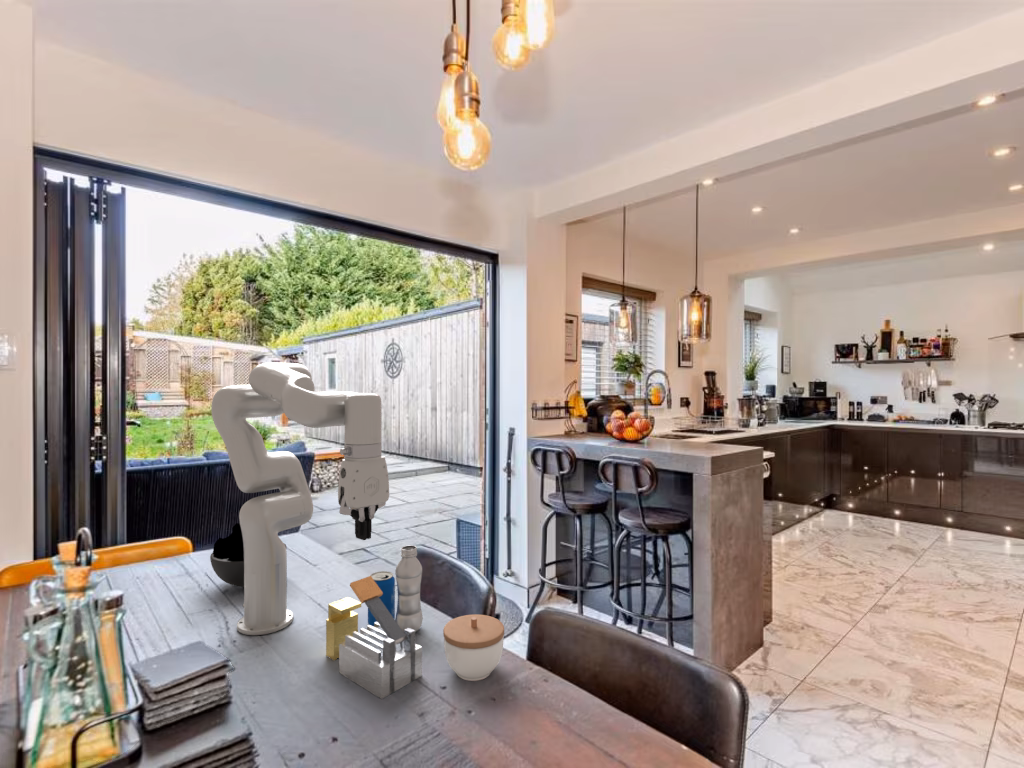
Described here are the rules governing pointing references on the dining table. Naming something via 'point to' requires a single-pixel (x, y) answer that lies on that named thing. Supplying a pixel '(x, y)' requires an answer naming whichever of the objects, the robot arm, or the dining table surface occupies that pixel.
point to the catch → (340, 624)
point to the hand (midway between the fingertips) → (363, 538)
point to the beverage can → (384, 593)
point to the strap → (378, 607)
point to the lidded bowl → (473, 645)
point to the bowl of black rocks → (230, 557)
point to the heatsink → (380, 660)
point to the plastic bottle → (409, 590)
